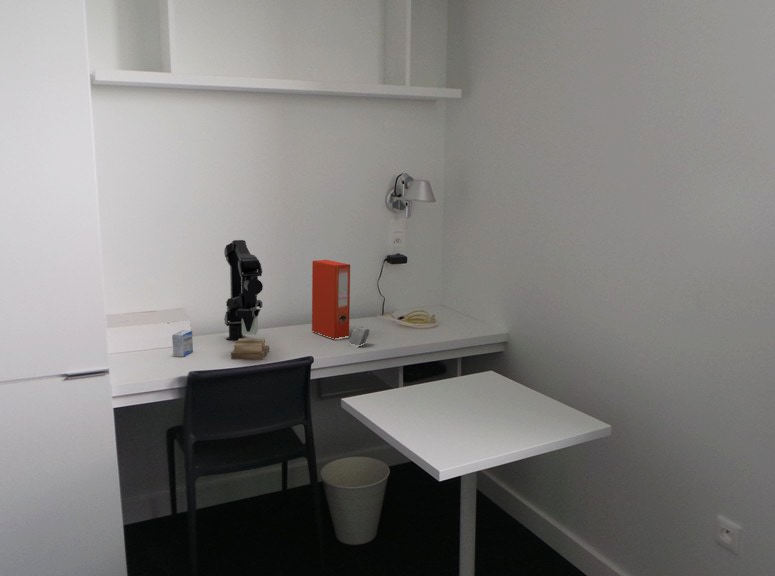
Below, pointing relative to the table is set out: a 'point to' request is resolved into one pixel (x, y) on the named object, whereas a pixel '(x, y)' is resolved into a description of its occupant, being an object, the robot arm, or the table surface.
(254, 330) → the sage block
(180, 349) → the medicine box
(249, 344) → the oak slab
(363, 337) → the mineral specimen
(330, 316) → the file binder
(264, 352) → the walnut slab
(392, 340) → the table surface
